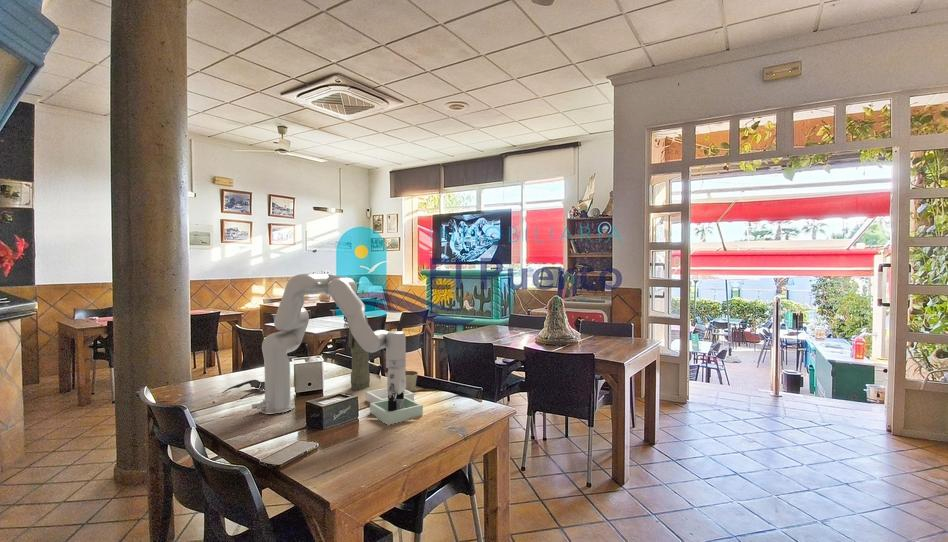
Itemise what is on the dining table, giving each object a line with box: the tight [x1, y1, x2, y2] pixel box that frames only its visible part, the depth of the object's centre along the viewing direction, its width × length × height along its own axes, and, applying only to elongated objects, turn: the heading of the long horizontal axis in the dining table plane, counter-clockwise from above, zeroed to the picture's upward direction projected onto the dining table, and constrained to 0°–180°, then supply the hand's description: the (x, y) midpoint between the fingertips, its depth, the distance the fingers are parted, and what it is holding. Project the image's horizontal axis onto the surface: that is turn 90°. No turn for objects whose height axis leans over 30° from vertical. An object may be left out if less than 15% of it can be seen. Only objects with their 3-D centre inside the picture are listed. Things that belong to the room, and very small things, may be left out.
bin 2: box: [369, 397, 424, 426], centre depth 170 cm, size 15×15×4 cm
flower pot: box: [405, 370, 419, 392], centre depth 203 cm, size 9×9×9 cm
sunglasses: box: [222, 379, 265, 400], centre depth 199 cm, size 16×17×5 cm
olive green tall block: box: [348, 314, 372, 391], centre depth 210 cm, size 9×12×35 cm
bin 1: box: [365, 387, 415, 404], centre depth 186 cm, size 15×15×4 cm
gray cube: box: [388, 399, 404, 412], centre depth 170 cm, size 5×5×5 cm
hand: (396, 406), depth 170 cm, fingers open, 9 cm apart
